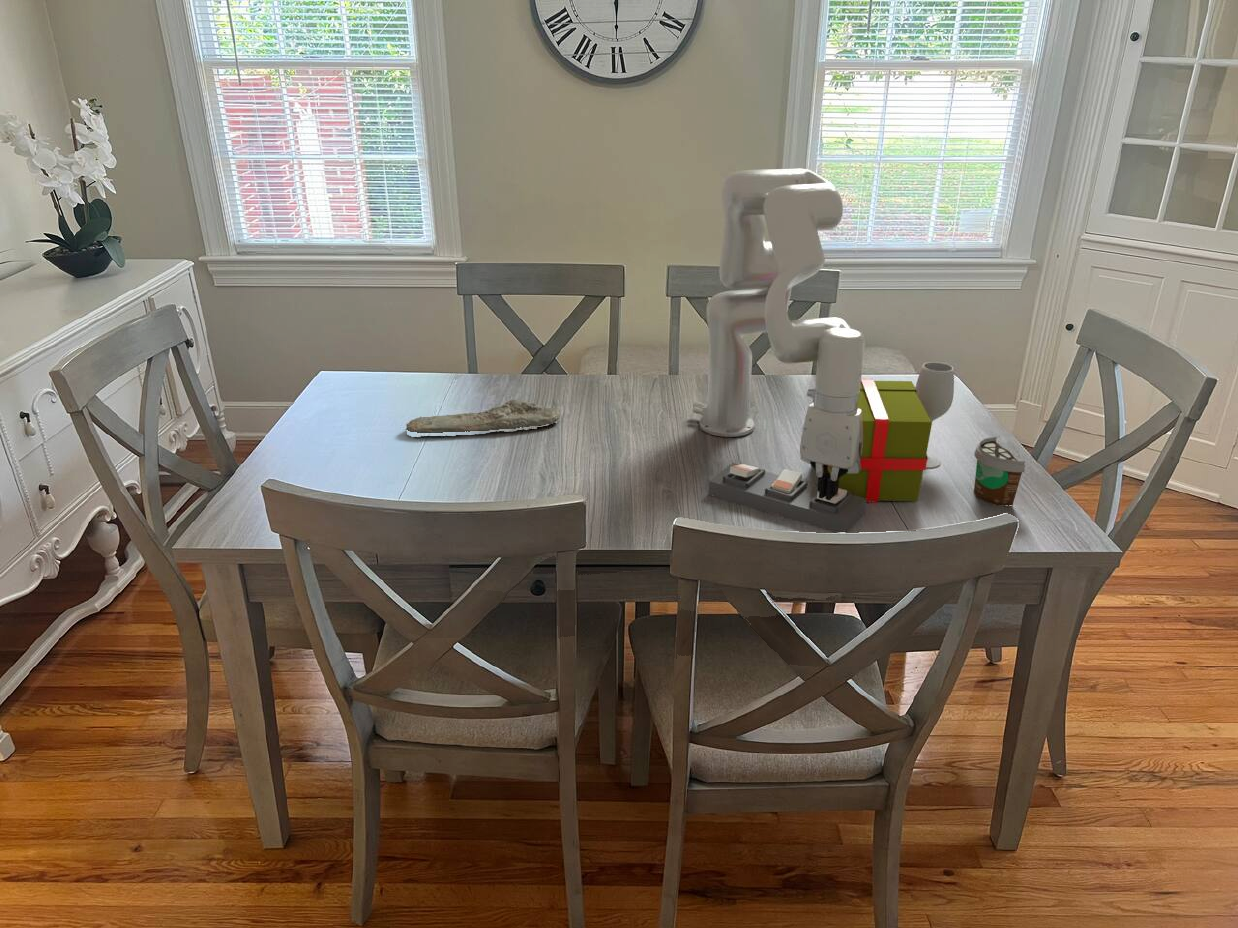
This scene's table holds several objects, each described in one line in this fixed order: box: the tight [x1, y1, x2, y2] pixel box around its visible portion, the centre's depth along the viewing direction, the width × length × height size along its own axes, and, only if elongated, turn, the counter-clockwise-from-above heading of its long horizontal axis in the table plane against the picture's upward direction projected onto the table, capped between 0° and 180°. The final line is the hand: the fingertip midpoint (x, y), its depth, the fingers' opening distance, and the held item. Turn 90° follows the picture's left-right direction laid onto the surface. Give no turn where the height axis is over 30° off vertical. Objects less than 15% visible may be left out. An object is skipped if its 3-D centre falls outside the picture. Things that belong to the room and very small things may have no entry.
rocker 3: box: [817, 488, 847, 503], centre depth 163 cm, size 4×6×1 cm, turn 146°
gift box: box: [828, 378, 933, 503], centre depth 176 cm, size 21×21×25 cm
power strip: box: [708, 462, 867, 533], centre depth 169 cm, size 28×10×4 cm, turn 56°
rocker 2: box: [772, 468, 803, 494], centre depth 167 cm, size 4×6×1 cm, turn 146°
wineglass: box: [915, 361, 955, 469], centre depth 182 cm, size 8×8×21 cm
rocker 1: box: [729, 463, 760, 477], centre depth 172 cm, size 4×6×1 cm, turn 146°
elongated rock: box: [405, 398, 560, 433], centre depth 203 cm, size 35×5×10 cm
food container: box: [973, 436, 1026, 507], centre depth 170 cm, size 12×6×10 cm, turn 5°
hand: (827, 496), depth 160 cm, fingers closed
